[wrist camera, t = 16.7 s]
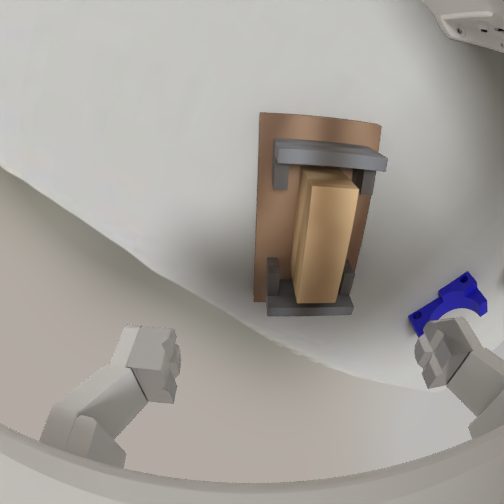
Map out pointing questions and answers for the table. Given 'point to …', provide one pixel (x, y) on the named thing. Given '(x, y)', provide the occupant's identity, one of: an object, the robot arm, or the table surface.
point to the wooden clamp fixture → (286, 194)
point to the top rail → (321, 233)
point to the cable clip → (451, 302)
